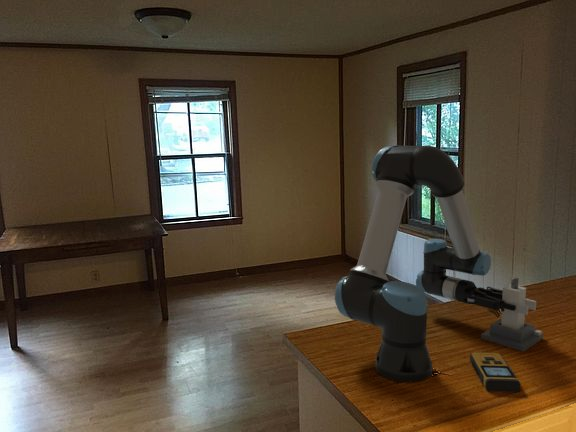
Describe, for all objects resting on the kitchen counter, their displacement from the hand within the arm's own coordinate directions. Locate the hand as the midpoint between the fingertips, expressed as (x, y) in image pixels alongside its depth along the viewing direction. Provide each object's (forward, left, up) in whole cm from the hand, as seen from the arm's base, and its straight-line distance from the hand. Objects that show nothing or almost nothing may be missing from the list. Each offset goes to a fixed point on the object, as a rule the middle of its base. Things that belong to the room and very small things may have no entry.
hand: (531, 307), depth 144 cm
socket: (0, +5, -11) cm, 12 cm away
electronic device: (-26, -2, -12) cm, 29 cm away
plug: (0, +5, -8) cm, 10 cm away
